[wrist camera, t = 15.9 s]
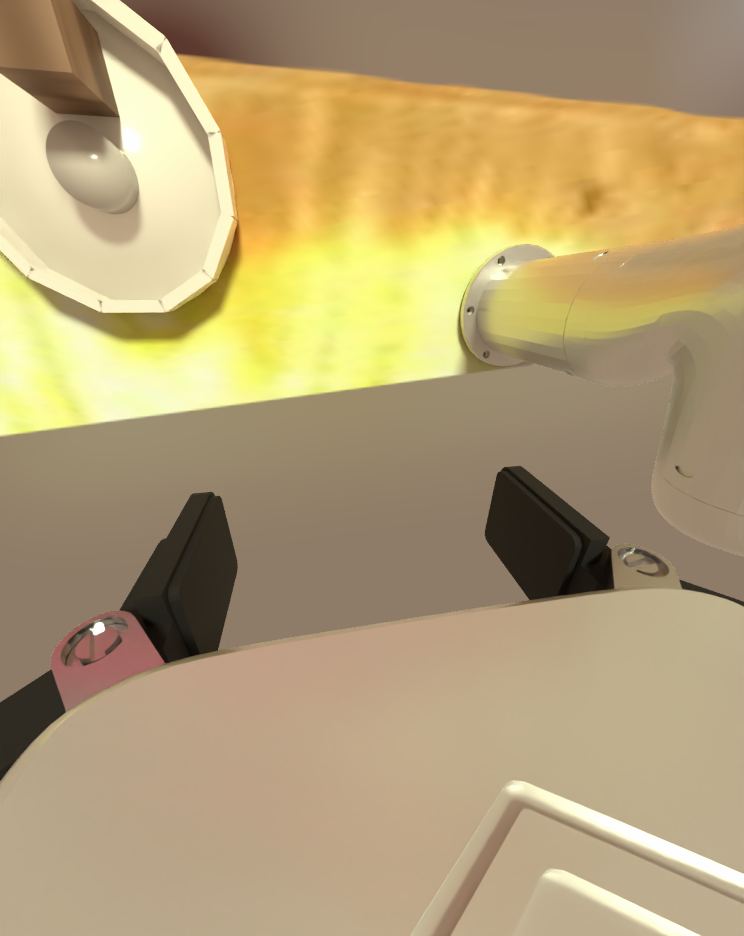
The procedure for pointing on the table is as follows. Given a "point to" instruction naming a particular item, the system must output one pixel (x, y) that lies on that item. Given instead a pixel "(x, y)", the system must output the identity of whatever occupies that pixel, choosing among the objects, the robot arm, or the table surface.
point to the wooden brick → (55, 57)
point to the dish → (166, 173)
